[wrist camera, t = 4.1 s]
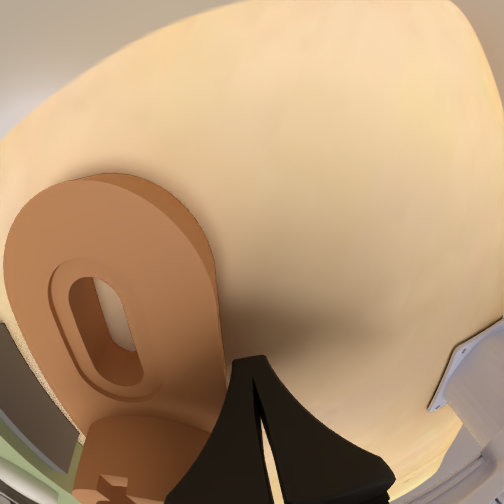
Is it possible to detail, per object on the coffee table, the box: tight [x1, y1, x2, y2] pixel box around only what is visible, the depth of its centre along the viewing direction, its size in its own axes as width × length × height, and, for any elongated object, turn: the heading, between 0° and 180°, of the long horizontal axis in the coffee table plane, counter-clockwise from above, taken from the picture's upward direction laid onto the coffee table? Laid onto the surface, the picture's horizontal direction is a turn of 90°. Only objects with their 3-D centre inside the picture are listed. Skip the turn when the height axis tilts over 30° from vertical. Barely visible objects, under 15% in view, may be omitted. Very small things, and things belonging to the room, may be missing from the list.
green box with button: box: [0, 323, 83, 504], centre depth 10 cm, size 11×22×7 cm, turn 8°
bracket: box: [3, 173, 228, 504], centre depth 9 cm, size 18×8×7 cm, turn 2°
